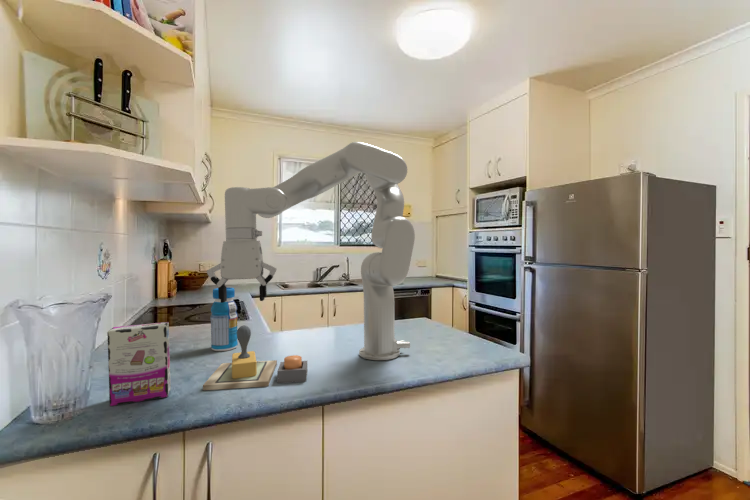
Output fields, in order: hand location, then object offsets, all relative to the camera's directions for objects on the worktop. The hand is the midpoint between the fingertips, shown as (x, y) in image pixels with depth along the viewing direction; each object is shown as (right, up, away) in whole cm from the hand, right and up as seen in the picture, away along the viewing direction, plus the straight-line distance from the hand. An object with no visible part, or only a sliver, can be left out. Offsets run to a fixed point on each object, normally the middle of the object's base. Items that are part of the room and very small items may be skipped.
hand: (243, 301), depth 93 cm
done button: (+13, -18, -1) cm, 22 cm away
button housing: (+13, -20, -1) cm, 24 cm away
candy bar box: (-18, -20, -13) cm, 30 cm away
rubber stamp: (0, -19, 0) cm, 19 cm away
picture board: (0, -20, 0) cm, 20 cm away
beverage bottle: (-16, -20, +26) cm, 36 cm away
